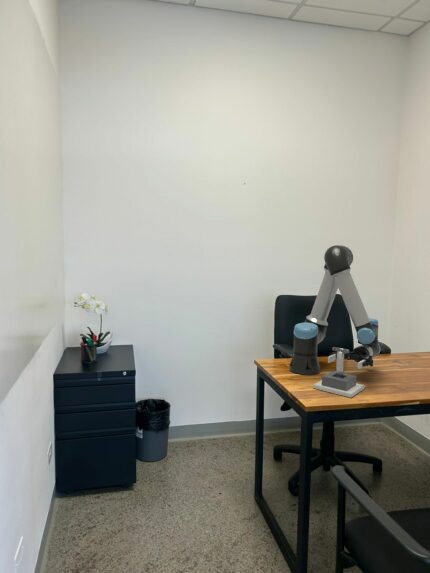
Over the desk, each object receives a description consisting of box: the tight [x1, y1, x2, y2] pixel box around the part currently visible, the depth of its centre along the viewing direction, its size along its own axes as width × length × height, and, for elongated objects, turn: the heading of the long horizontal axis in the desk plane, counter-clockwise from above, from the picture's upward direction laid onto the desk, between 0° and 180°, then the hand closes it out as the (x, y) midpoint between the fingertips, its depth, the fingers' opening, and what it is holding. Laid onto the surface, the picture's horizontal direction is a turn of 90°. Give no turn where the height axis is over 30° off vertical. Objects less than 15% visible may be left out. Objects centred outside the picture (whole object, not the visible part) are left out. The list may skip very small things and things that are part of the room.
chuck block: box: [312, 370, 366, 398], centre depth 176 cm, size 17×15×6 cm
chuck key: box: [331, 346, 350, 379], centre depth 175 cm, size 8×3×16 cm, turn 50°
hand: (343, 362), depth 177 cm, fingers open, 13 cm apart
